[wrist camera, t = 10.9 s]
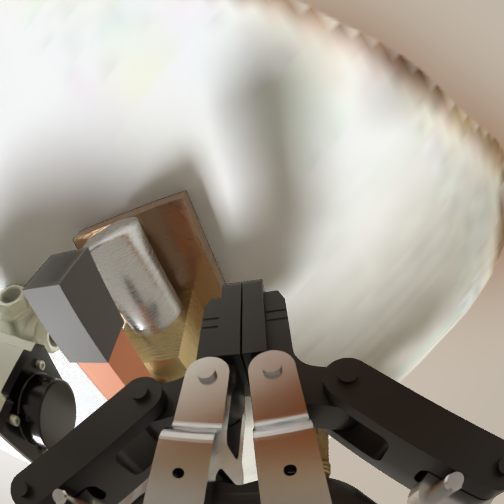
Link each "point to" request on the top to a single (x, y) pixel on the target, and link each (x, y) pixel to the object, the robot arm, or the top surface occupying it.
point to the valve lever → (84, 320)
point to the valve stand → (157, 279)
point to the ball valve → (30, 382)
